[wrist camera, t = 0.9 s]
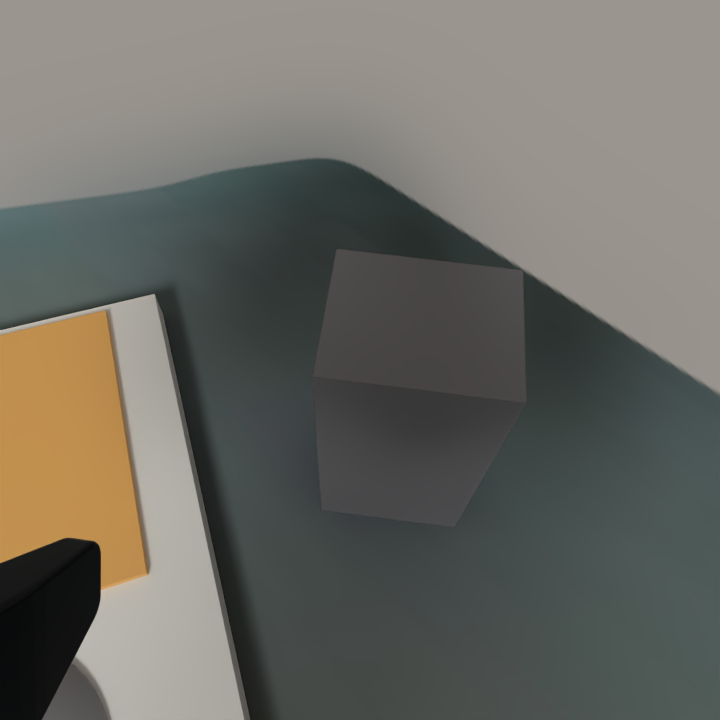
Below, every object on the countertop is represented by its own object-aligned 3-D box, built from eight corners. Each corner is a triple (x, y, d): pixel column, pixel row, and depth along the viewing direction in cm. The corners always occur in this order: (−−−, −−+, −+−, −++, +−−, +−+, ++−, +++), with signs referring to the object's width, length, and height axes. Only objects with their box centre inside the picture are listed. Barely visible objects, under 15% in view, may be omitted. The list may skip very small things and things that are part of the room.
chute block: (454, 527, 22) (526, 402, 14) (321, 510, 23) (312, 376, 14) (458, 430, 25) (522, 270, 16) (336, 415, 25) (336, 248, 16)
